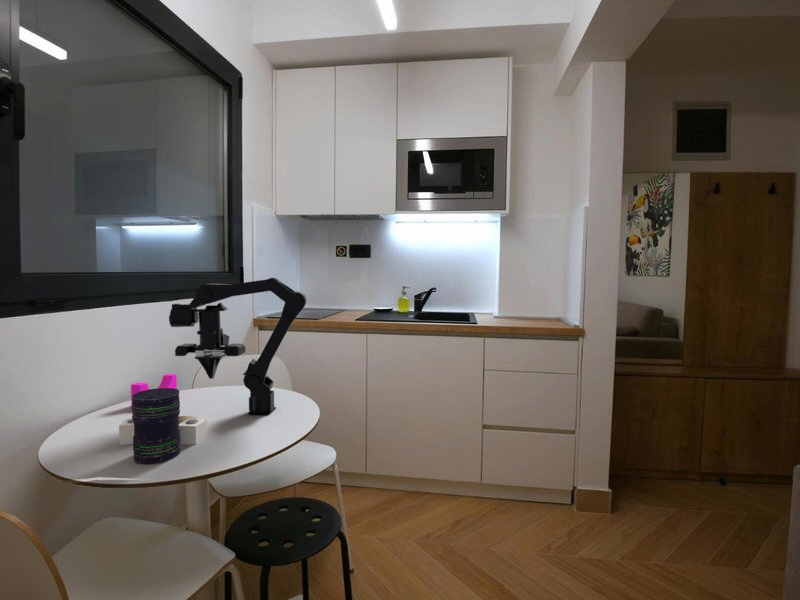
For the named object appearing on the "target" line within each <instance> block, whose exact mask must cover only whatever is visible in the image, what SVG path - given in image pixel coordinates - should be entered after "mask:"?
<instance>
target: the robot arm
mask: <svg viewBox="0 0 800 600" xmlns="http://www.w3.org/2000/svg"><path fill="white" fill-rule="evenodd" d="M264 292H266V293H267V292H271V293H273V294H274V295H275V296H277V298H279V299H280V300H281V301H283V302H284V305H283V307H282V312H281V316H280V318H279V320H278V322H277V324H276V325H275V327H274V330H273V331H272V333H271V335H270V337H269V339H268V340H267V342H266V344H265V346H264V348H263V349H262V351H261V353H260V355H259V358H258V359H257V360H256V359H254V358H252V359H251V360H250V362H249V363H248V366H247V369H246V370H245V371H244V373H242V375H243V381H242V382H243V384H244V386H245V388H247V390H249V392H250V393H249V394H250V397H248V411H249V412H247V415H248V416H249V415H250V416H252V415H253V416H270V415H271V414H272V413H273V412H274V411H276V409H277V407H276V406H275V390H272V388H273V385H274V383H275V382H274V380H273V379H271V378H270V377H269V375H268V373H269V371H270V367H271V363H272V360H273V359H274V357H275V355H276V354H277V352H278V350H279V348H280V347H281V344H282V342H283V341H284V340H283V339H284V338H285V337H286V335H287V332H288V331H289V329H290V327H291V325H292V324H293V321H294V320H295V319H296V318H297V317H298V315H299V314H300V313H301V311H303V309H304V308H305V306H306V305H307V302H308V300H307V296H306V294H305V293H303V292H302V291H298V290H297V291H295V290H294V289H292V287H290V286H288V285H286V284H285V283H283V282H281V280H280V279H278V278H277V277H270V278H267V279H260V280H253V281H246V282H238V283H230V284H228V283H206V284H201V285H199V286H198V287H197V288H196V291H195V296H194V298H193V299H192V300H191V302H190V303H187V304H186V303H185V304H181V303H172V304H171V309H170V312H169V315H168V322H169V325H170V327H171V328H187V327H188V328H189V327H190V328H191V327H193V328H194V326H195V325H196V324H198V328H199V330H197V331H196V335H199V344H197V343H183V344H180V345H177V346H176V347H175V349H174V356H175V357H186V356H187V355H188V354H191V353H193V354H195V357H194V359H195V360H198V362H199V363H200V365H201V366H202V368H203V370H204V371H205V373H206V375H207V377H208V379H210V380H212V379H214V378H215V375H216V372H217V369H218V366H219V364H220V361H221V360H222V359H223V358H224V357H226V356H227V357H239V356H241V355H243V354H245V353H246V346H245V344H244V343H230V344H229V342H230V336H229V335H227V334H225V333H224V332H223V331H224V330H223V328H221V312H225V311H227V310H228V307H226V306H225V305H224V304H223V303H222V302H219V301H223V300H226V299H228V298H232V297H237V296H244V295H250V294H251V295H252V294H258V293H264ZM217 302H218V303H217ZM213 303H217V304H214V305H213ZM209 304H212V305H209ZM204 306H205V308H200V307H204Z"/></svg>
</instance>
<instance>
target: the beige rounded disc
mask: <svg viewBox="0 0 800 600" xmlns="http://www.w3.org/2000/svg"><path fill="white" fill-rule="evenodd" d="M187 419H197V417H196V416H191V415H179V424H180V423H182V422H184V421H185V420H187Z"/></svg>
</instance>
